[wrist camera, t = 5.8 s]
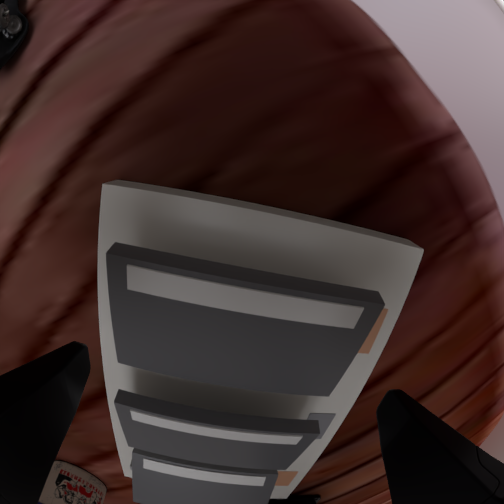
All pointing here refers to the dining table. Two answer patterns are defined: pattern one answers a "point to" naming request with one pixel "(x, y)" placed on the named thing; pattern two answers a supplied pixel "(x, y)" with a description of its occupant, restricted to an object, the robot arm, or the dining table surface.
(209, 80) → the dining table surface
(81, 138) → the dining table surface
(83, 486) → the teacup with lid
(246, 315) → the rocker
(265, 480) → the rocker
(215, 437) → the panel
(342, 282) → the switch panel
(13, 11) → the can opener
